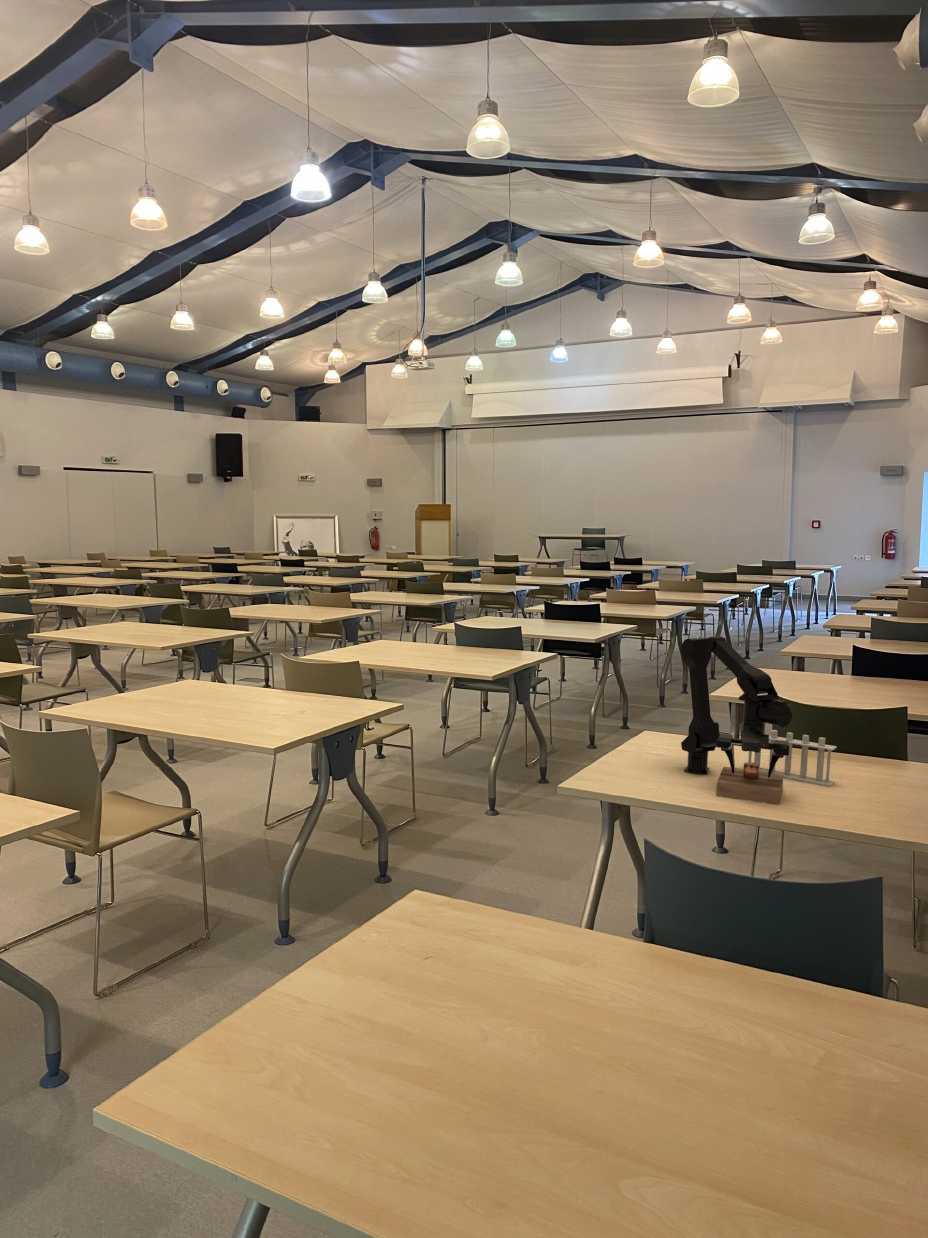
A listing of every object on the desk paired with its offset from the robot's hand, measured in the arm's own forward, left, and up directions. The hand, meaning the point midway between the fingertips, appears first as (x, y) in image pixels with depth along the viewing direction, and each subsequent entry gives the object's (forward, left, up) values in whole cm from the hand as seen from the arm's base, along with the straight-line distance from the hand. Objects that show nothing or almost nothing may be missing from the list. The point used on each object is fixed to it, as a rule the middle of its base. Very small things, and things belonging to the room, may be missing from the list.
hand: (750, 775), depth 227 cm
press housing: (0, 0, -5) cm, 5 cm away
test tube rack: (-20, +9, -5) cm, 23 cm away
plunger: (0, 0, -4) cm, 4 cm away
